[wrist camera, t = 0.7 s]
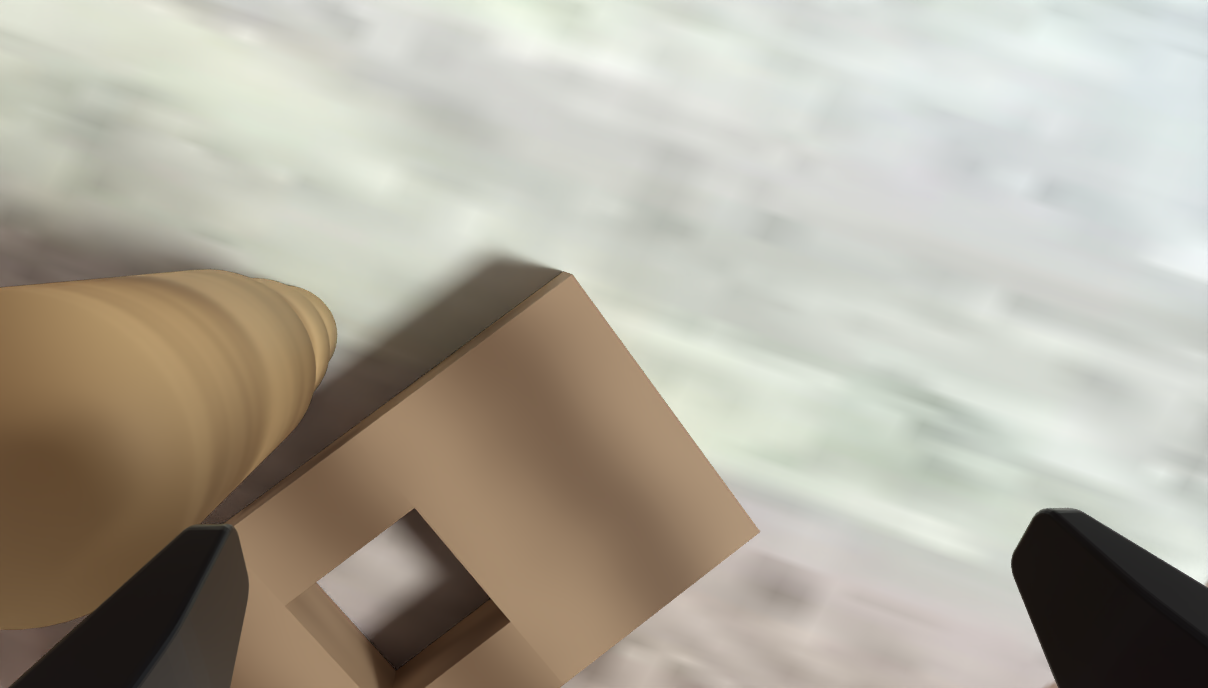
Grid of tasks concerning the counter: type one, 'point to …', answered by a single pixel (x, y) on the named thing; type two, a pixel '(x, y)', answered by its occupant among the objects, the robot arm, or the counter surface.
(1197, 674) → the robot arm
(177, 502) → the oak peg
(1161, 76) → the counter surface
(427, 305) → the counter surface
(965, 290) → the counter surface
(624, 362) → the wooden flat block
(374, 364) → the counter surface
